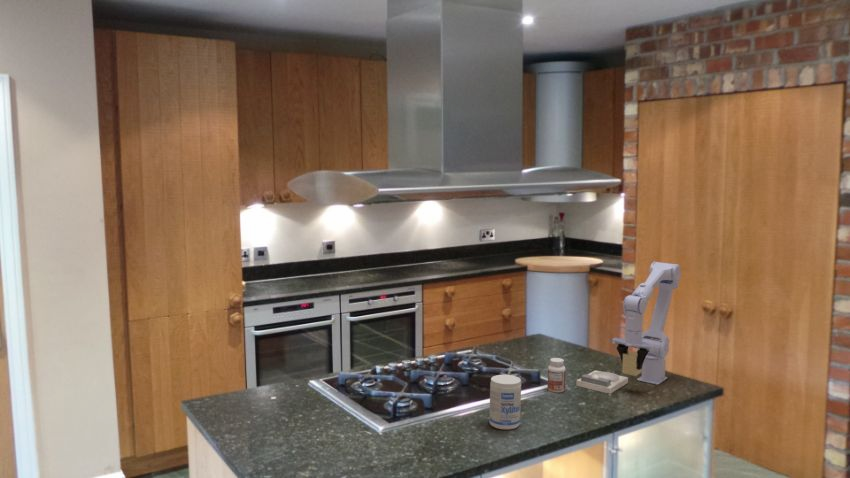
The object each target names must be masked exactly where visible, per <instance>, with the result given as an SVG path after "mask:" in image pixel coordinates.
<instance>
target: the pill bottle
mask: <svg viewBox="0 0 850 478" xmlns="http://www.w3.org/2000/svg"><path fill="white" fill-rule="evenodd" d="M549 363H550V364H549V365H548V367H547V390H548V391H549V392H551V393H563V392H564V391H565V390H566V375H567V374H566V367H565V364H564V359H563V358H560V357H552V358H550V361H549Z"/></svg>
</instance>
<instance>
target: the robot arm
mask: <svg viewBox="0 0 850 478" xmlns="http://www.w3.org/2000/svg"><path fill="white" fill-rule="evenodd" d="M681 270H682V269H681V267H680V265H679V264H678V263H675V264H674V263H668V262H660V261H655V260H654V261H653V262H651V264H650V266H649V275H648V277H647V278H646V280H645V281H644V282H642V283H640V284H639V285H638V286H637V287H636V288H635V290H634V291H633V292H632V294H629V295H626V296H625V297H624V299H623V304H622V307H623V311H624V312H623V313H624V317H625V326H624V338H619V337H614V338H612V343H611V344H612V345H617V346H616V350H617V352H618V355H619V357H620V361H621V364H622V365H623V353H625V352H627V351H629V348H634V349H637V350H636V352H637V354H638V370H640V369H642V372H641V376H639V377H638V378H637V379H636V380H637V381H639V382H644V383H648V384H653V385H660V384H661V383H663V382H665V380H667V379H668V376H666V365H667V364H666V359H665V358H666V357H667V356H668V354H669V349H670V339H669V337H668V336H667V335H666V333H664V331H665V327H666V323H667V322H666V321H667V319H668V312H669V309H670V306H671V301H672V298H673V297H672V296H673V293H674V289H675V290H676V289H677V288H678V287H679V284H680V280H681V276H682V272H681ZM656 287H658V292H657V296H656V300H655V306H654V308H653V313H652V317H651V322H650V325H649V329H647V330H645V331H643V321H644V313H645V312H646V310H647V307H648V304H649V300H650V299H651V298H652V297H653V295H654V289H655V288H656Z"/></svg>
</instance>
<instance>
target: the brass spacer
mask: <svg viewBox="0 0 850 478" xmlns="http://www.w3.org/2000/svg"><path fill="white" fill-rule="evenodd" d="M621 367H622V369H621V373H622V374H625V375H630V376H635V377H636V376H638V375H640V374H642V369H640V370H638V354H637V351H633V350H628V351H627V352H625V353H623V365H622V366H621Z"/></svg>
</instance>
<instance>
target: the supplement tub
mask: <svg viewBox="0 0 850 478" xmlns="http://www.w3.org/2000/svg"><path fill="white" fill-rule="evenodd" d="M489 385H490V389H489V419H488V420H489V421H488V422H489V424H490V426H492V427H493V428H496V429H499V430H505V431H506V430H514V429H516V428H518V427H519V426H520V424H521V408H522V407H521V405H522V404H521V402H522V401H521V400H522V379H521V378H520V377H518V376H516V375H512V374H498V375H497V374H496V375H493V376H492V377H491V378H490V384H489Z"/></svg>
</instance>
